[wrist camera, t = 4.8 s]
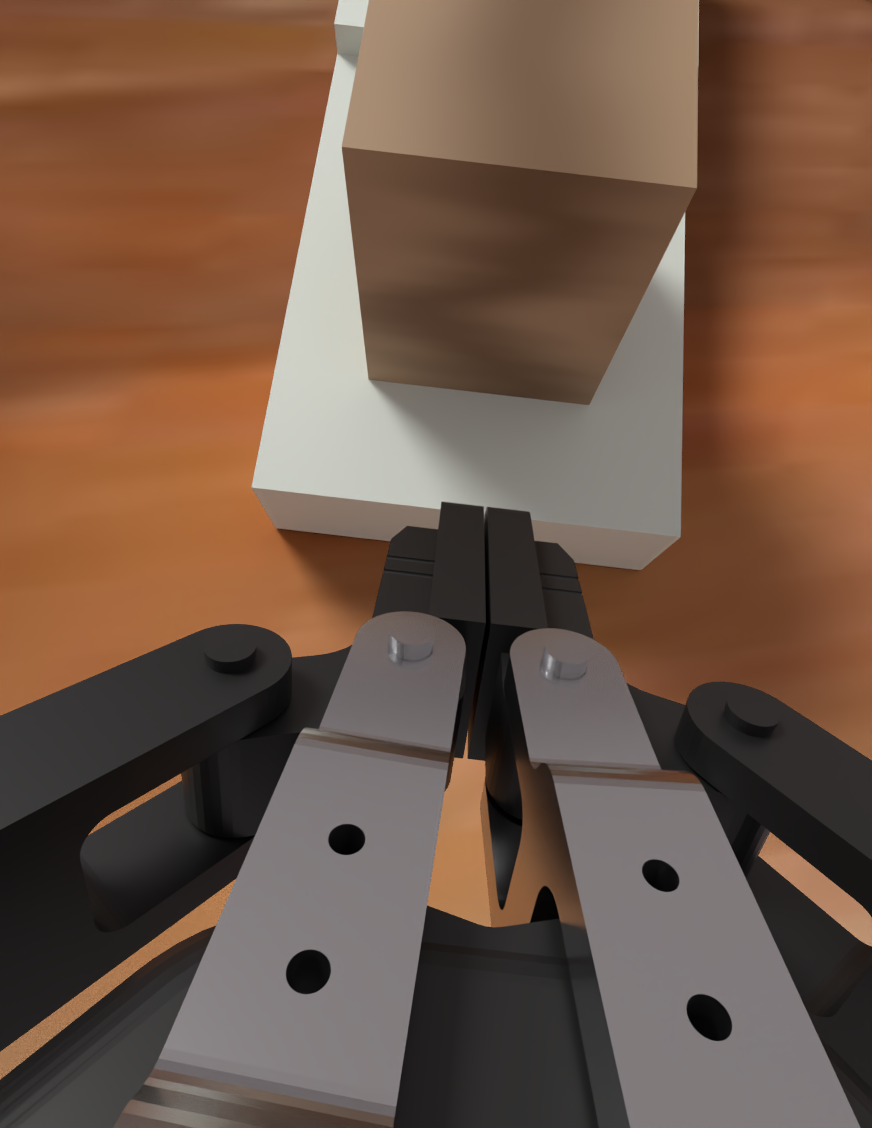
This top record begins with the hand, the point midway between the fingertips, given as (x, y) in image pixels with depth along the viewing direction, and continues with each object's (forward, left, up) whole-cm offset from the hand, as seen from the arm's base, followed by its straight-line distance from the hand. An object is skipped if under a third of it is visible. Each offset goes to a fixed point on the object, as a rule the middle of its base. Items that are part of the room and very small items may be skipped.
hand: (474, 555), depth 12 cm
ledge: (0, +11, -10) cm, 15 cm away
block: (0, +10, -7) cm, 12 cm away
